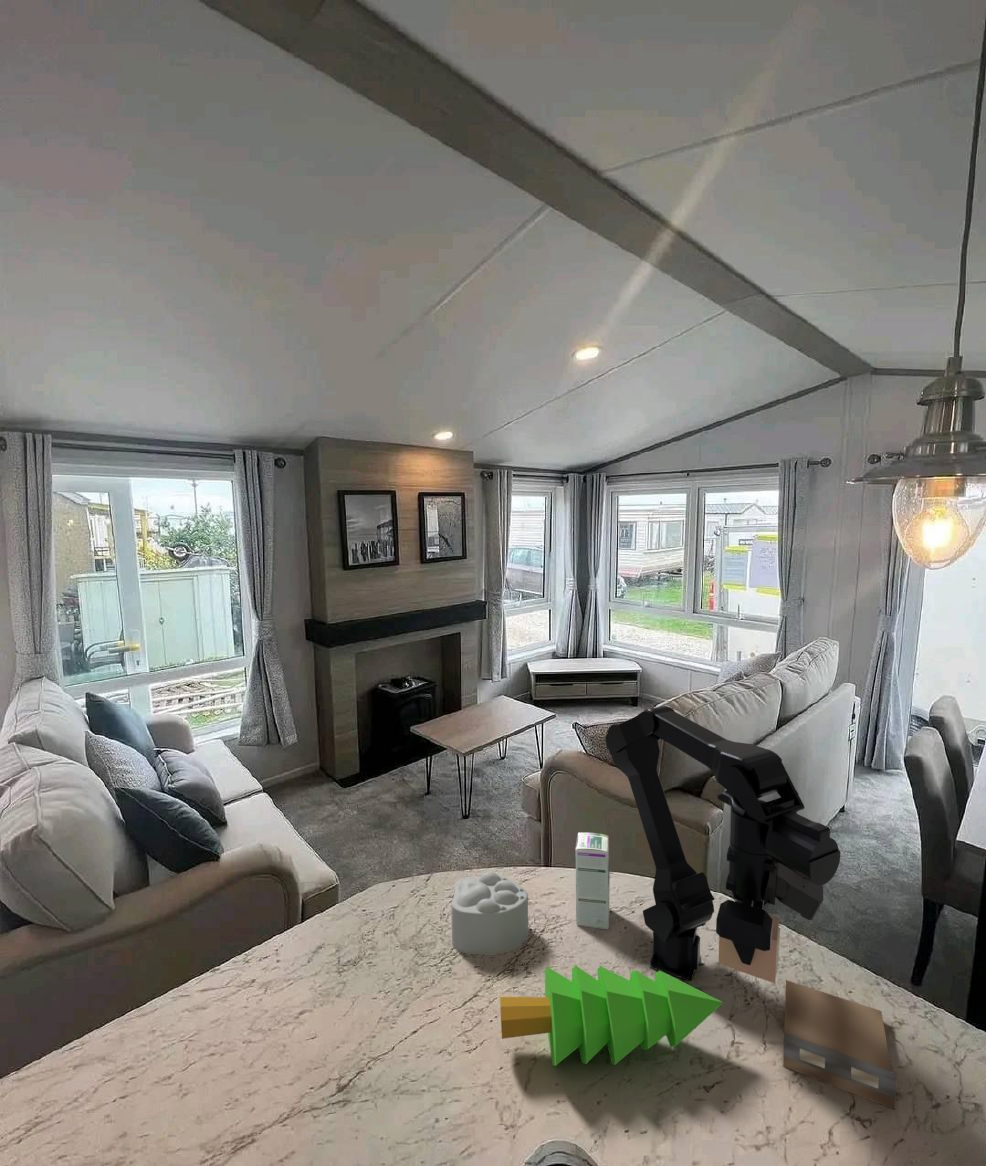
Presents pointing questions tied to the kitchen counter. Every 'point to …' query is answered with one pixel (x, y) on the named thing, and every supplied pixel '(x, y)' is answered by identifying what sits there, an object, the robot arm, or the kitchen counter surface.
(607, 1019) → the decorative tree
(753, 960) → the product carton
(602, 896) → the syrup box
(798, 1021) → the tan banded flat block
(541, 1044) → the kitchen counter surface
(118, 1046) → the kitchen counter surface
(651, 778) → the robot arm
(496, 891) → the lumpy-topped squat cylinder
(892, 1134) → the kitchen counter surface
